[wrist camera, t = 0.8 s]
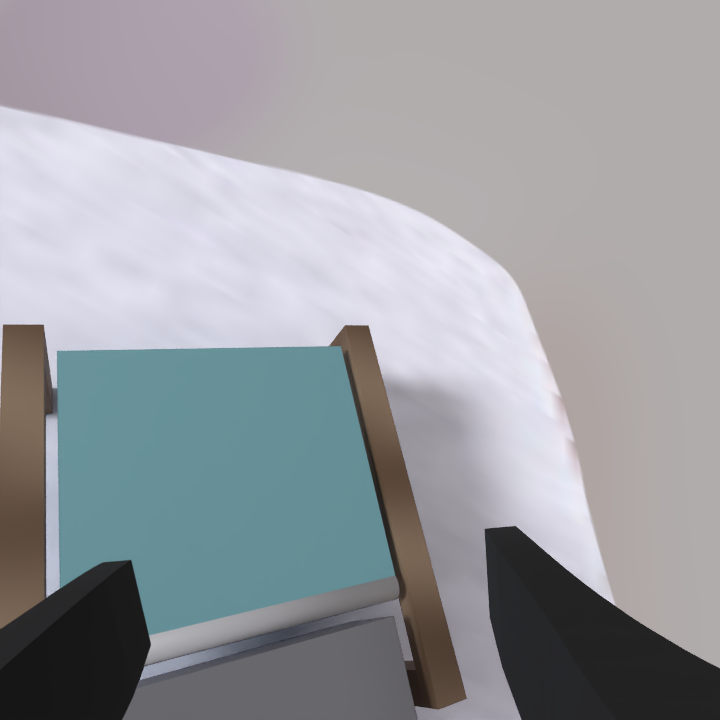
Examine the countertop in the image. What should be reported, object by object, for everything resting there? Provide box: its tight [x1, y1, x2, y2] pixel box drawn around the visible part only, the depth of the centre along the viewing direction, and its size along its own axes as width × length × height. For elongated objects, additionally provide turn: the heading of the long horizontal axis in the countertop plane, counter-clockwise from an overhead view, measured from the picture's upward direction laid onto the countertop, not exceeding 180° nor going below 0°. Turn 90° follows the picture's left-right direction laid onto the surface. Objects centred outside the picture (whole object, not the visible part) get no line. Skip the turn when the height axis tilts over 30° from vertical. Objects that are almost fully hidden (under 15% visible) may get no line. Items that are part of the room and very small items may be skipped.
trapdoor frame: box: [0, 325, 467, 709], centre depth 21 cm, size 15×14×6 cm
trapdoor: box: [57, 346, 417, 720], centre depth 20 cm, size 15×11×4 cm
